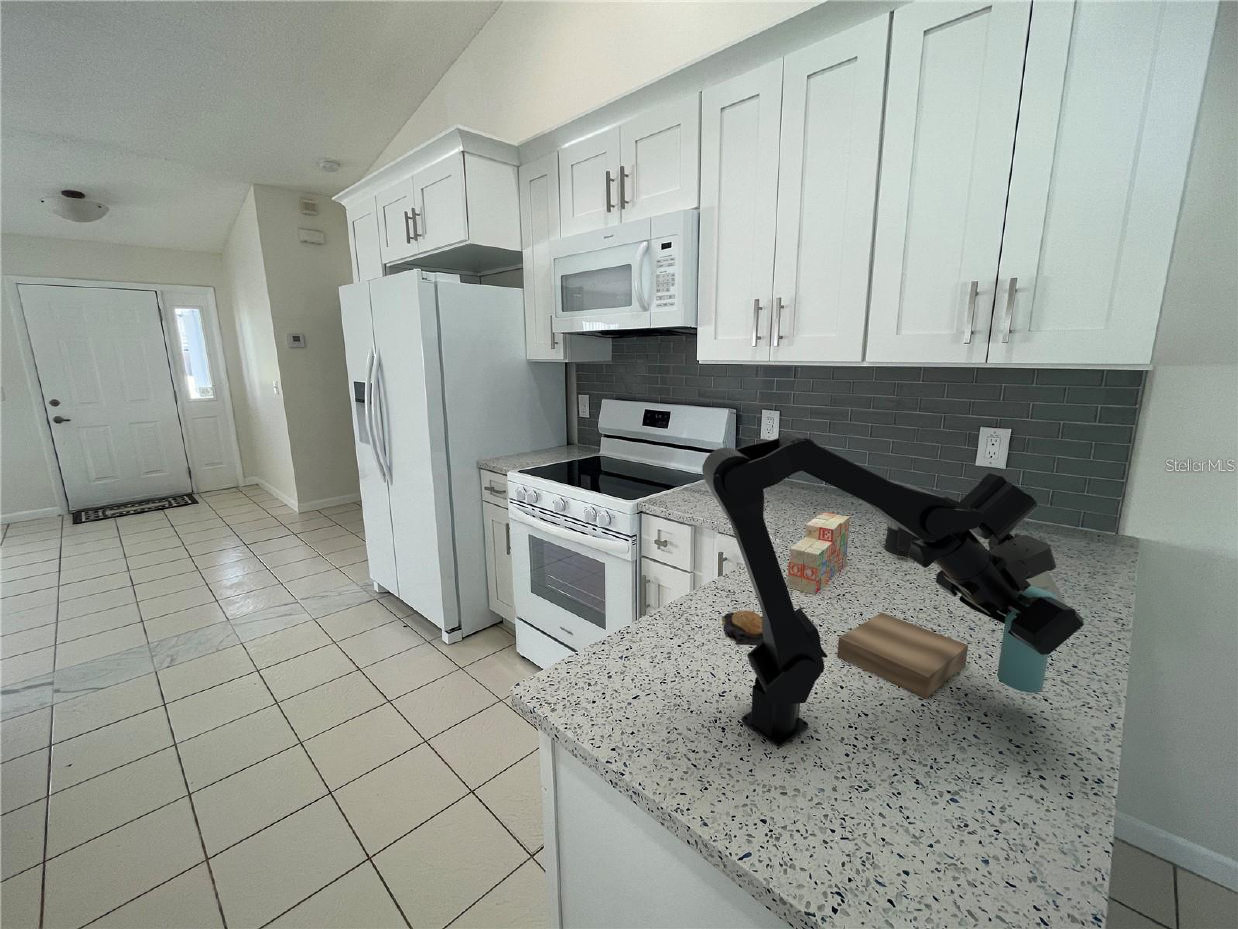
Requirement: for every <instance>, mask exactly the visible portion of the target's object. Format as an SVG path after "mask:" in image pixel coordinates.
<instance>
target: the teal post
mask: <svg viewBox="0 0 1238 929" xmlns="http://www.w3.org/2000/svg"><path fill="white" fill-rule="evenodd" d="M1019 593H1020V594H1022V595H1024V596H1026V597H1028V598H1031V597H1049V596H1050V597H1052V598H1054V599H1056V600H1058V598H1057V596H1056V595H1054V594H1053V593H1051V592H1048V591H1046V590H1043V589H1040V588H1036V587H1031V586H1030V587H1029V588H1028V589H1026V590H1025V591H1024V592H1023V591H1021V590H1020V591H1019ZM1016 601H1017V600H1016ZM1018 602H1019V601H1018ZM1023 605H1024V604H1023ZM1027 606H1029V605H1027ZM1008 609H1009V608H1008ZM1010 610H1011V609H1010ZM1015 614H1017V613H1016V612H1014V611H1012V610H1011V613H1010V614H1009V615H1008V616H1006V618H1005V624H1004V625H1003V632H1002V641H1001V647H1000V653H999V659H998V660H999V661H998V668H997V679H998V680H999V682H1001V683H1002V684H1003V685H1005V686H1007V687H1010V688H1011V689H1014V690H1017V691H1020V692H1023V693H1031V694H1035V693H1036V694H1037V693H1040V692H1042V691H1043V690H1044V683H1045V677H1046V672H1047V671H1046V670H1047V665H1048V660H1049V659H1048V658H1049V654H1047V655H1041V654H1039V653H1038V652H1036V651H1035V650H1033V649H1032V648H1030V647H1029V646H1027V645H1026V644H1024V643H1023V642H1021V641H1020V640H1018V639H1016V638H1015V637H1013V636H1012V635H1010V634H1009V633H1008V631H1009V630H1010V628H1011V622H1012V620H1013V619H1015V618H1016V616H1015Z"/></svg>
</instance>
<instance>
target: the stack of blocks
mask: <svg viewBox="0 0 1238 929" xmlns="http://www.w3.org/2000/svg"><path fill="white" fill-rule="evenodd" d="M850 518H851V517H850V516H847V515H840V514H834V513H828V512H822V513H820V514H818V515H817V516H816V517H814V518H813V519H812V520H810V521H809V522H808V523H806V524H805V535H804V538H802V539H800V540H799V541H797V542H796V543H795V544H793V545H792V546H791V547H790V548H789V561H788V568H787V569H788V572H787V573H788V574H787V588H789V589H793V590H796V591H801V592H805V593H807V594H811V595H816V594H817V593H818V592H819V591H821V590H822V589H823V588H824V587H825V585H827V584H828V583H829V582H830V581H831V580H832V579H833V578H834V577H835V576H836V575H837V574H838V573H839V572H840V571H841V570H842V569H844V567H846V566H847V562H848V561H847V559H848V544H849V534H850V533H849V532H850V520H851V519H850Z"/></svg>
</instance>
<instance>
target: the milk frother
mask: <svg viewBox="0 0 1238 929" xmlns="http://www.w3.org/2000/svg"><path fill="white" fill-rule="evenodd" d="M918 540H920V538H918V537H916V536H915V535H913V534H911V533H909V532H907V531H906V530H904V529H902V528H900V527H898V526H897V525H895V524H893V523H892V522H891V521H889V520H888V519H887V527H886V536H885V544H884V546H883V547H884V549H885V550H886V551H888V552H889V553H892V554H896V555H902V556H906V557H908V553H909V550H910V548H911V542H912V541H918Z"/></svg>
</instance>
